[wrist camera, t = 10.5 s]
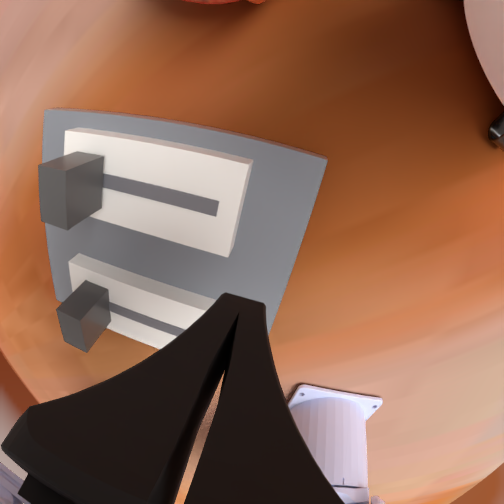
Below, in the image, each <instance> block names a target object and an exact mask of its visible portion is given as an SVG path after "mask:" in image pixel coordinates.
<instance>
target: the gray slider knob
mask: <svg viewBox="0 0 504 504" xmlns="http://www.w3.org/2000/svg"><path fill="white" fill-rule="evenodd" d="M103 164H104V156H101V155H96V154H90V153H84V152H79V151H76V152H73V153H70V154H67V155H64V156H62V157H59V158H56V159H53V160H51V161H48V162H45V163H43V164H40V165H38V172H39V198H40V213H41V221H42V222H45V223H48V224H50V225H53V226H56V227H59V228H62V229H64V230H67V231H68V230H69V229H71V228H72V227H74V226H75V225H76V224H78V223H79V222H81V221H83V220H84V219H86V218H87V217H89V216H90V215H92V214H93V213H95V212H96V211H98V210H100V209H101V208H102V183H103Z"/></svg>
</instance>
